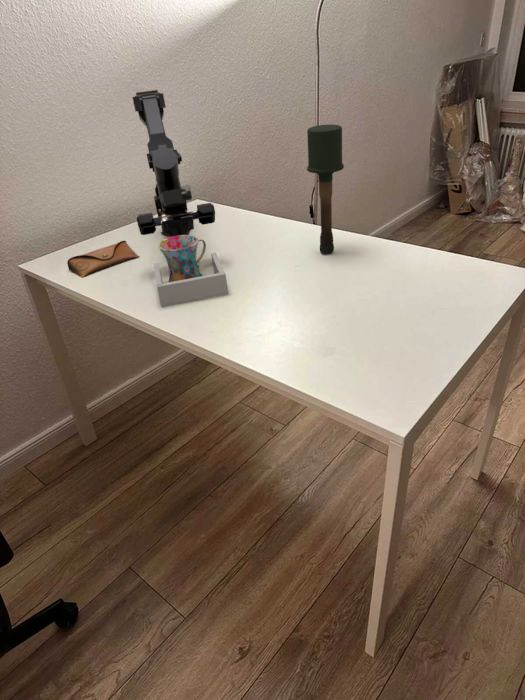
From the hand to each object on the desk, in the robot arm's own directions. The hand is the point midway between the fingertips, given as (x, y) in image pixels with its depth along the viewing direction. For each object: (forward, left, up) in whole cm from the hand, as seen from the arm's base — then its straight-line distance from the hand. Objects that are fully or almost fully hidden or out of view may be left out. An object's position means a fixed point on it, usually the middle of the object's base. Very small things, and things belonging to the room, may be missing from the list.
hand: (183, 250), depth 118 cm
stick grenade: (-31, +19, -7) cm, 37 cm away
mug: (+1, +3, -7) cm, 8 cm away
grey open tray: (+3, +6, -7) cm, 10 cm away
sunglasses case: (+9, -27, -8) cm, 29 cm away
